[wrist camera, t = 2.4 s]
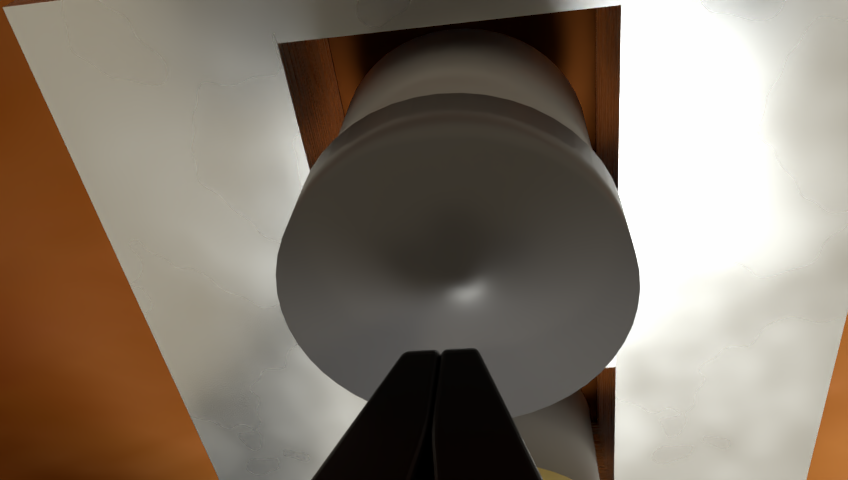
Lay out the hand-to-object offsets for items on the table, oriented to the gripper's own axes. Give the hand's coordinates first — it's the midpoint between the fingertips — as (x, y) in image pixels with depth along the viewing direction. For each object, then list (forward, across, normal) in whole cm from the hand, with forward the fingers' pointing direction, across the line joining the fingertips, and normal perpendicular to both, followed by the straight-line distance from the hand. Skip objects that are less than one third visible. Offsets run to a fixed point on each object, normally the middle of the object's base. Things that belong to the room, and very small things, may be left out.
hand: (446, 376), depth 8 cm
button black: (+6, 0, 0) cm, 6 cm away
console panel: (+8, 0, +7) cm, 10 cm away
